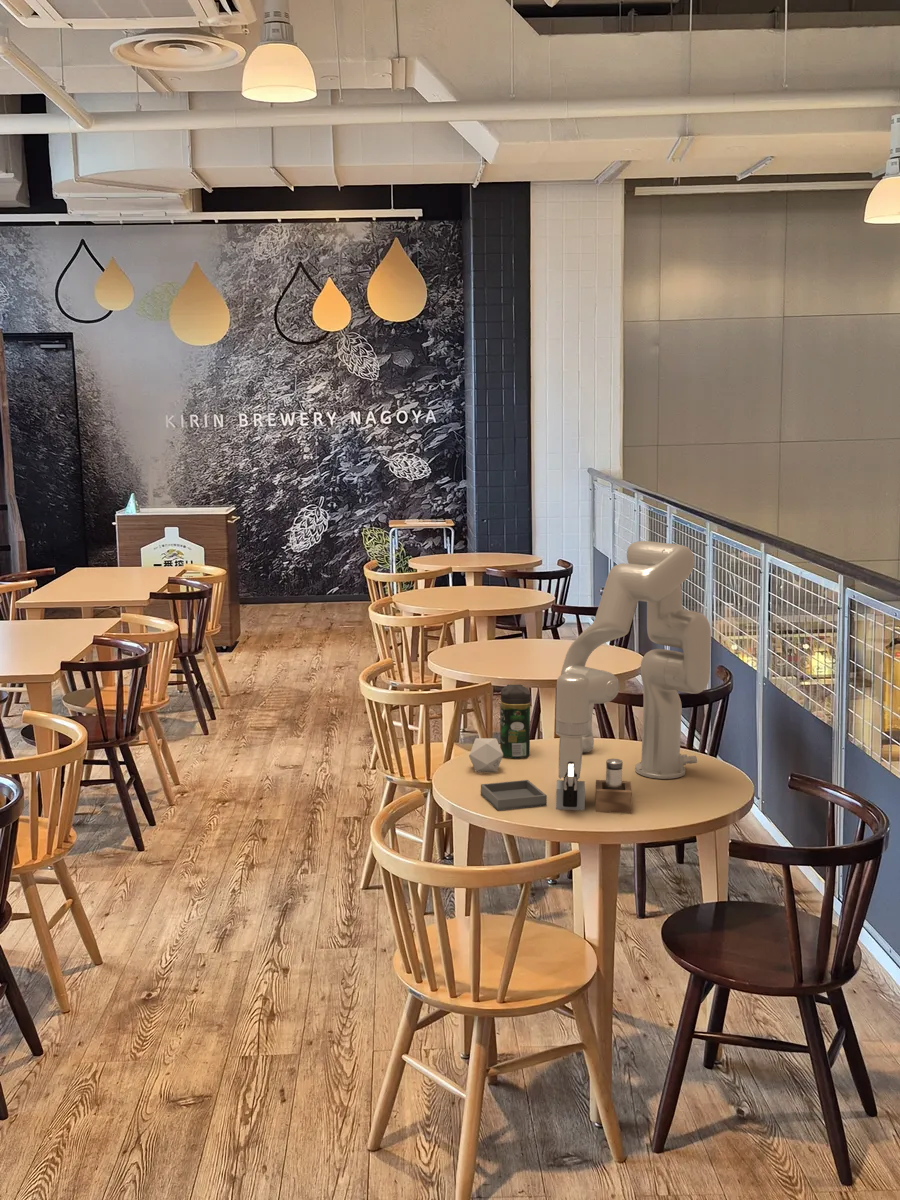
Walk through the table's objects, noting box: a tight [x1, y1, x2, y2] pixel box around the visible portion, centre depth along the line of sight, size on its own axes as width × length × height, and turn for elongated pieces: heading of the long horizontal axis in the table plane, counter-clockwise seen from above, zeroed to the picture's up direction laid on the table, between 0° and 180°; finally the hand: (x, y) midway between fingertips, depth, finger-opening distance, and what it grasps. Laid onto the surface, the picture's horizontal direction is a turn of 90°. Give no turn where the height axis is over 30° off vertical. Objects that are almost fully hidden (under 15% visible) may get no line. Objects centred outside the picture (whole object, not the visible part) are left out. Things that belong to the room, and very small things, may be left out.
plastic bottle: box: [582, 704, 595, 754], centre depth 310 cm, size 6×7×20 cm
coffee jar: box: [499, 684, 531, 760], centre depth 307 cm, size 10×8×19 cm
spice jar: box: [605, 758, 623, 790], centre depth 267 cm, size 4×4×11 cm
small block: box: [555, 779, 586, 811], centre depth 269 cm, size 6×6×5 cm
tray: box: [480, 779, 548, 812], centre depth 272 cm, size 12×12×2 cm
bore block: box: [594, 779, 633, 814], centre depth 268 cm, size 8×8×5 cm
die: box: [468, 737, 504, 773], centre depth 294 cm, size 8×9×10 cm
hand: (570, 799), depth 269 cm, fingers open, 8 cm apart
